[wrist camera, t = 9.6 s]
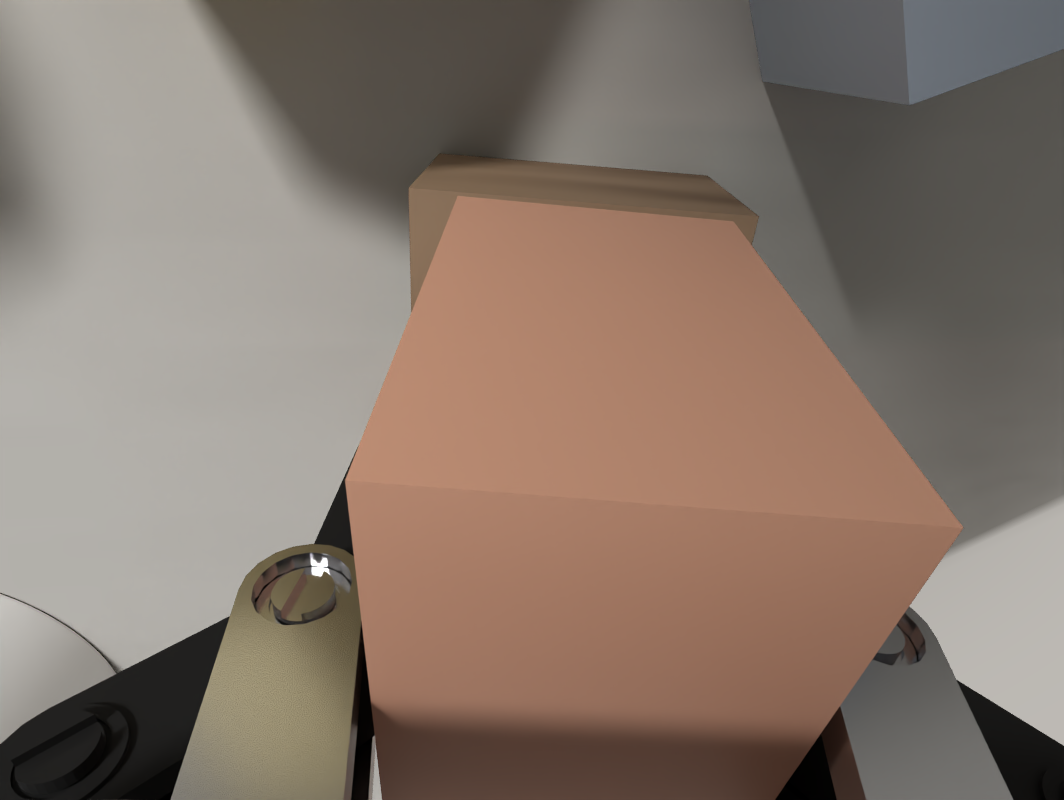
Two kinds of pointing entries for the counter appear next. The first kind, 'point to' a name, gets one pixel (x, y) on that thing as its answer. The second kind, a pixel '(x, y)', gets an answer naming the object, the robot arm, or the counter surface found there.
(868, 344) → the counter surface
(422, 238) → the walnut block
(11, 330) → the counter surface
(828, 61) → the slate brick
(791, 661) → the terracotta brick
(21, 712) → the tall pillar cylinder
